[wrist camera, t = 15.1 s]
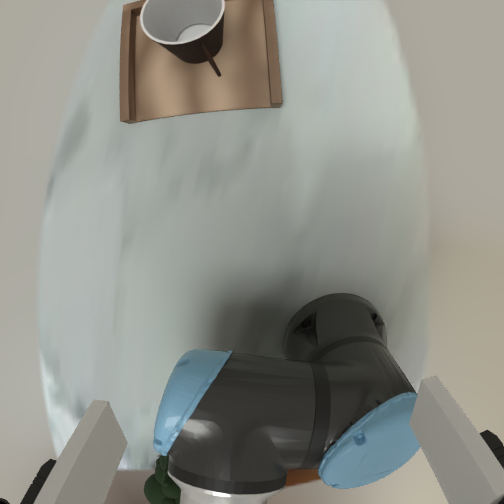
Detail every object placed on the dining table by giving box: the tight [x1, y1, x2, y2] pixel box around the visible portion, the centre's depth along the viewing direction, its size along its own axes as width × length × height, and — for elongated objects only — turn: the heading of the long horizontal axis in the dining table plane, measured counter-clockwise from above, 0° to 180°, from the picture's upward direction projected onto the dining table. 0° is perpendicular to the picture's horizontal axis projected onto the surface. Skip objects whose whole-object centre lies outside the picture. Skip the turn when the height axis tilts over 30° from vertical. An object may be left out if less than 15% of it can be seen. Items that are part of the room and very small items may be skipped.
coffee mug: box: [140, 0, 225, 77], centre depth 28 cm, size 12×9×10 cm
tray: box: [120, 0, 282, 124], centre depth 32 cm, size 19×17×3 cm
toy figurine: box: [144, 455, 181, 504], centre depth 44 cm, size 9×19×25 cm
